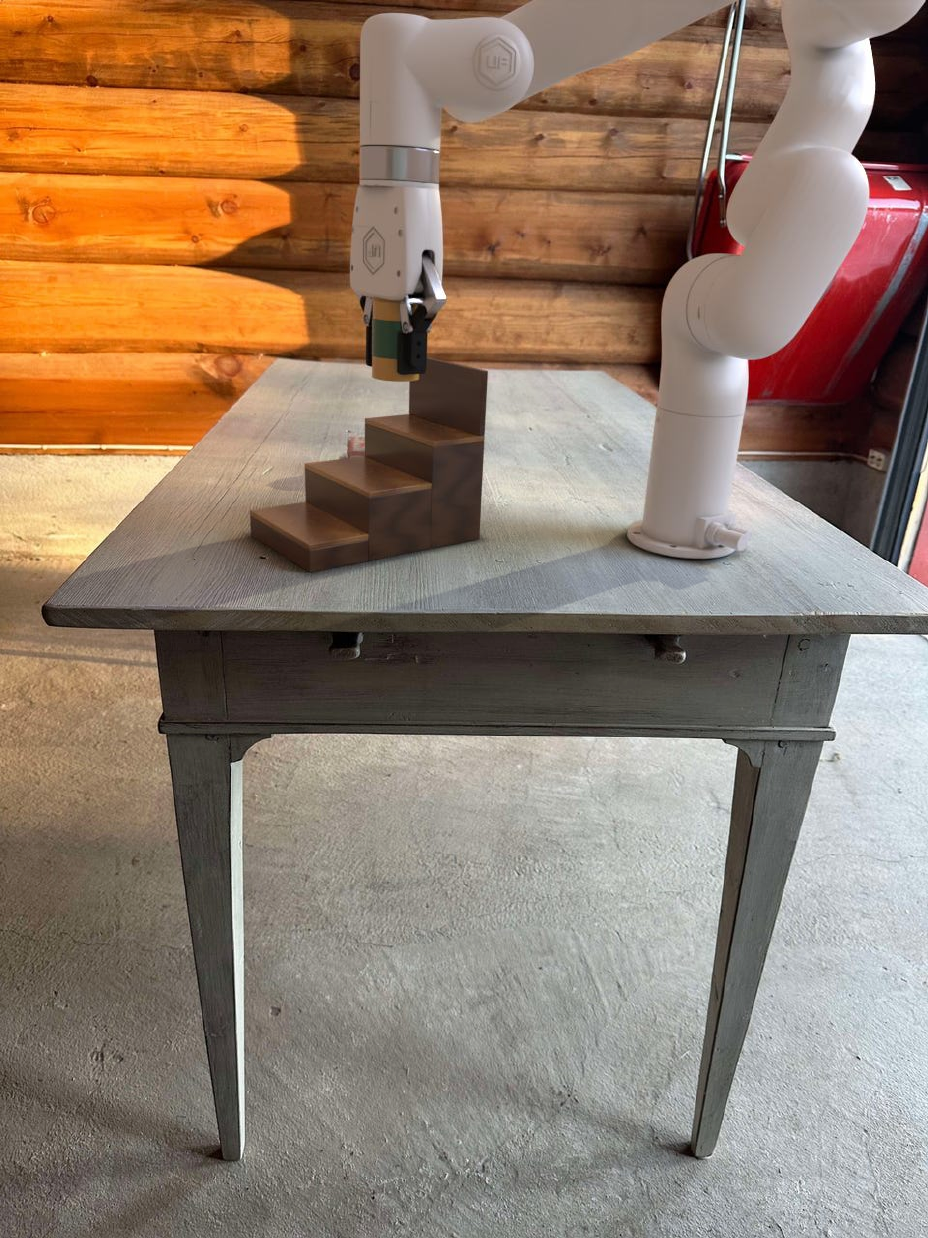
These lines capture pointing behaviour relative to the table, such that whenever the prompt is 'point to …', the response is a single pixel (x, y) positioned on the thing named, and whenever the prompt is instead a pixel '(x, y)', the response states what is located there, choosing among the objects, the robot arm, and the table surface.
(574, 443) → the table surface
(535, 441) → the table surface
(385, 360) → the tin
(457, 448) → the step shelf
